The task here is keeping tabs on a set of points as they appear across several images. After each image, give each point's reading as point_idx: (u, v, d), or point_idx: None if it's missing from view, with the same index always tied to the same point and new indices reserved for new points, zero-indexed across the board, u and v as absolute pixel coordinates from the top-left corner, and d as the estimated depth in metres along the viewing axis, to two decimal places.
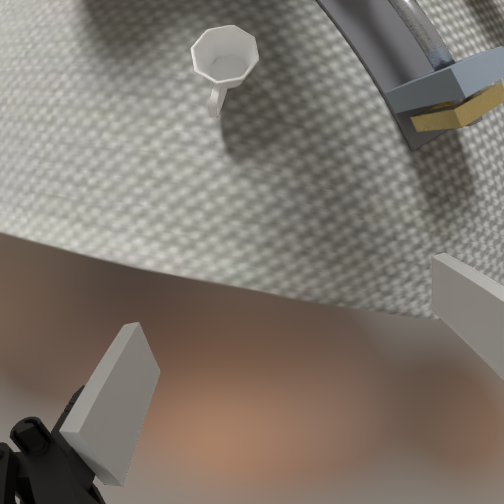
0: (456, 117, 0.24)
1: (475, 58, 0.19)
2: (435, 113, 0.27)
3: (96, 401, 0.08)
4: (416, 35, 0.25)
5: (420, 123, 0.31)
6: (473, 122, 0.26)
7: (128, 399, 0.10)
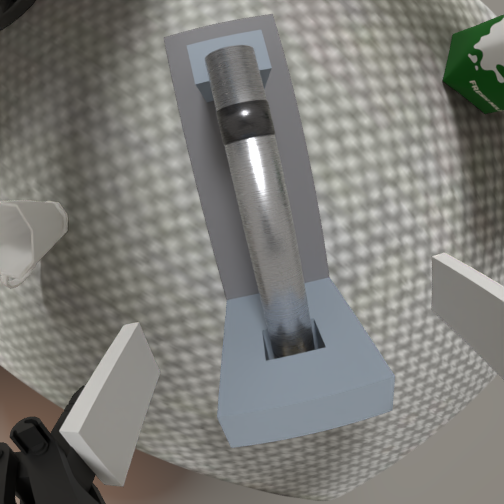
0: None
1: (291, 406, 0.15)
2: None
3: (96, 401, 0.08)
4: (257, 285, 0.20)
5: None
6: None
7: (128, 399, 0.10)
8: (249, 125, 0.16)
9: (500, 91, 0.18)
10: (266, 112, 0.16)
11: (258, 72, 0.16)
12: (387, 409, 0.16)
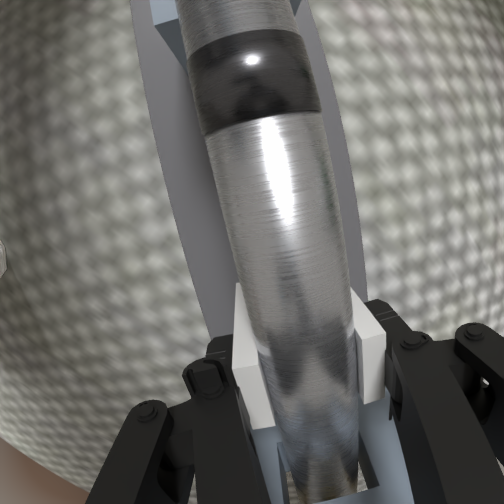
0: None
1: None
2: None
3: None
4: None
5: None
6: None
7: None
8: (265, 84, 0.06)
9: None
10: (305, 61, 0.06)
11: None
12: None
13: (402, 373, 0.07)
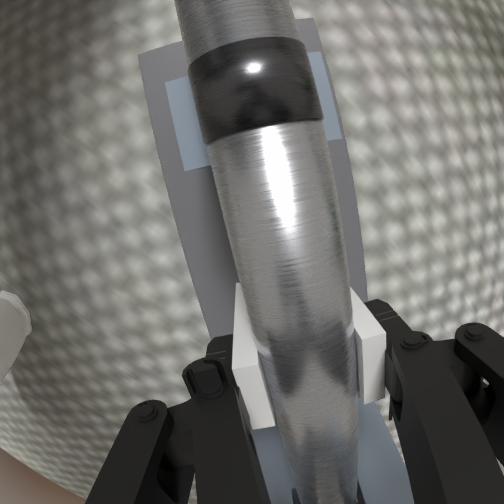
0: None
1: None
2: None
3: None
4: None
5: None
6: None
7: None
8: (267, 93, 0.06)
9: None
10: (307, 69, 0.06)
11: None
12: None
13: (402, 373, 0.07)
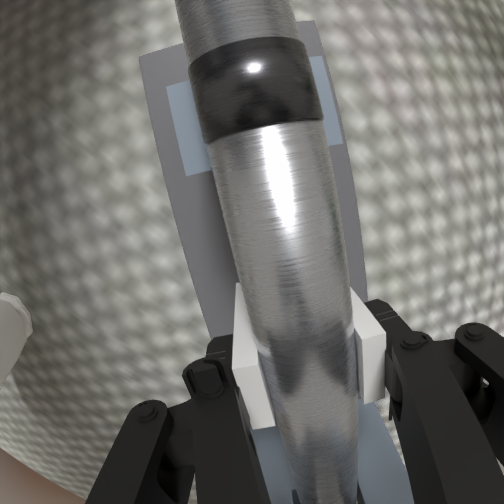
0: None
1: None
2: None
3: None
4: None
5: None
6: None
7: None
8: (267, 92, 0.06)
9: None
10: (306, 68, 0.06)
11: None
12: None
13: (402, 373, 0.07)
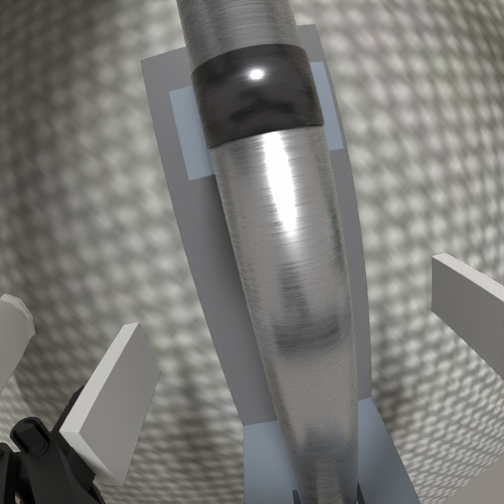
0: None
1: None
2: None
3: (96, 401, 0.08)
4: None
5: None
6: None
7: (128, 399, 0.10)
8: (269, 100, 0.06)
9: None
10: (308, 75, 0.07)
11: None
12: None
13: None
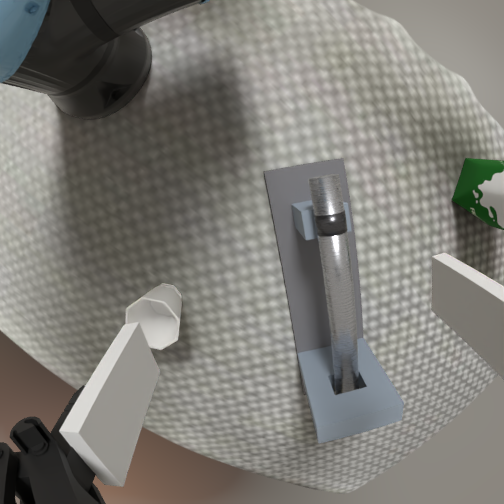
0: None
1: (353, 418, 0.29)
2: None
3: (96, 401, 0.08)
4: (329, 315, 0.33)
5: None
6: None
7: (128, 399, 0.10)
8: (336, 228, 0.29)
9: (489, 221, 0.32)
10: (345, 219, 0.29)
11: (341, 192, 0.29)
12: (399, 419, 0.30)
13: None
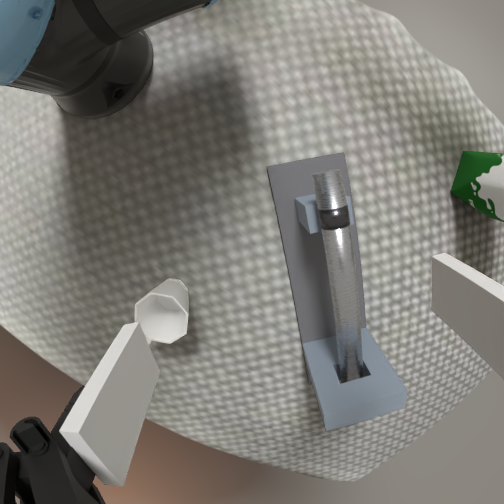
0: None
1: (359, 406, 0.30)
2: None
3: (96, 401, 0.08)
4: (333, 306, 0.34)
5: None
6: None
7: (128, 399, 0.10)
8: (340, 221, 0.30)
9: (487, 212, 0.33)
10: (348, 212, 0.30)
11: None
12: (403, 406, 0.31)
13: None
